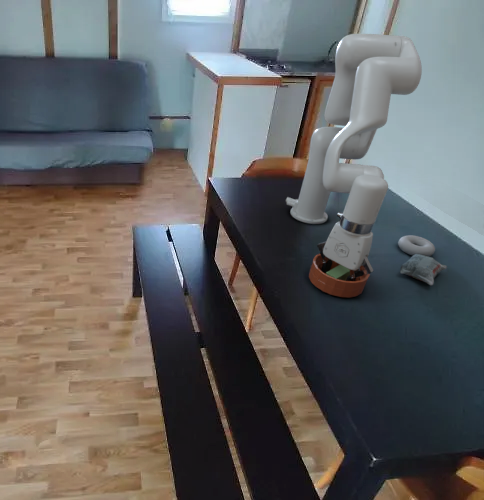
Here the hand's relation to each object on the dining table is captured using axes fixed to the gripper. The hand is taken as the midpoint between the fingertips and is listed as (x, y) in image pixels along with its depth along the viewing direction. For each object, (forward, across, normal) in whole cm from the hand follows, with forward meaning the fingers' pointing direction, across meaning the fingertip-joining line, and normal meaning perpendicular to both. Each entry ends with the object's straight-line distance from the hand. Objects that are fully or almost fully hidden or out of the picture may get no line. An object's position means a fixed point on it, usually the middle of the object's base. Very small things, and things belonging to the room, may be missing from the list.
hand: (336, 279), depth 112 cm
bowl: (+1, 0, 0) cm, 1 cm away
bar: (0, 0, 0) cm, 0 cm away
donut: (+1, +5, +36) cm, 37 cm away
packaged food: (+1, +12, +24) cm, 27 cm away
